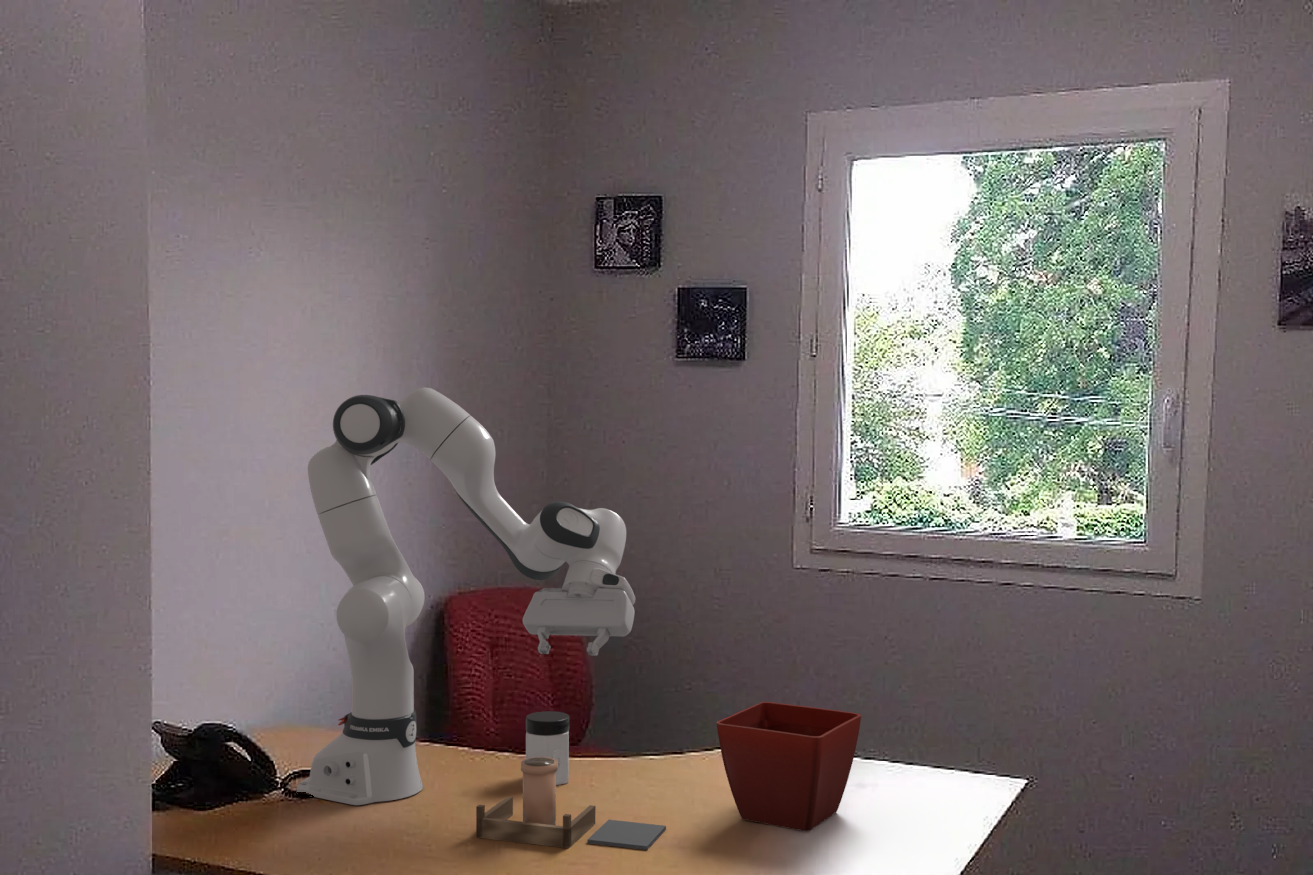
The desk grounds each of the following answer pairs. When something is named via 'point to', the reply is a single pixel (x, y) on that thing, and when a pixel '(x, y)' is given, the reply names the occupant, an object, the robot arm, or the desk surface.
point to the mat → (627, 834)
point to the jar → (549, 740)
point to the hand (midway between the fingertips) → (566, 653)
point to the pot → (539, 790)
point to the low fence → (531, 826)
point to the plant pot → (788, 762)
